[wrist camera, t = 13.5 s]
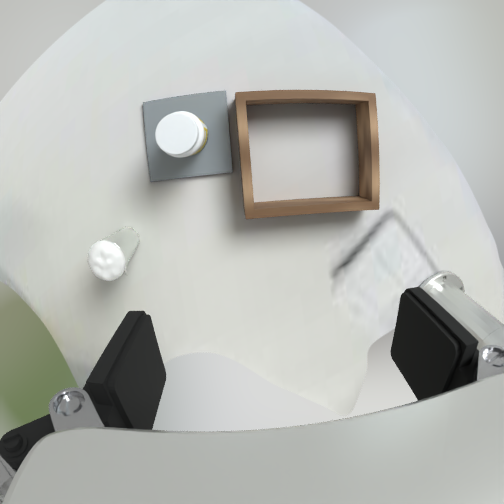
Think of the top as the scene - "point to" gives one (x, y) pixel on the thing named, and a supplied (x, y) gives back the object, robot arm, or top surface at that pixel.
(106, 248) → the milkshake
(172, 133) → the supplement bottle
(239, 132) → the walnut box
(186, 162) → the slate mat
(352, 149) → the top surface
